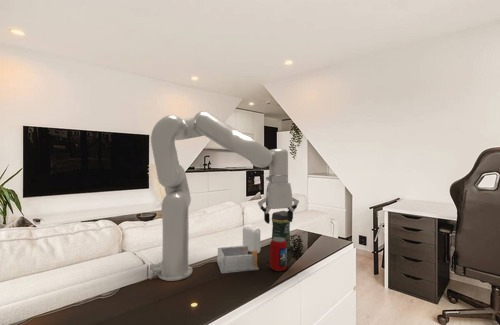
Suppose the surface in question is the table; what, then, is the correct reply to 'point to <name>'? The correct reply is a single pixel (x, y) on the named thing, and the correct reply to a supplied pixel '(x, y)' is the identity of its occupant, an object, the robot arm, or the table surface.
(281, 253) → the beverage can
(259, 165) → the robot arm
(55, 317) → the table surface
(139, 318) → the table surface
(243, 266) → the grey open box
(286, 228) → the coffee jar
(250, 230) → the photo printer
